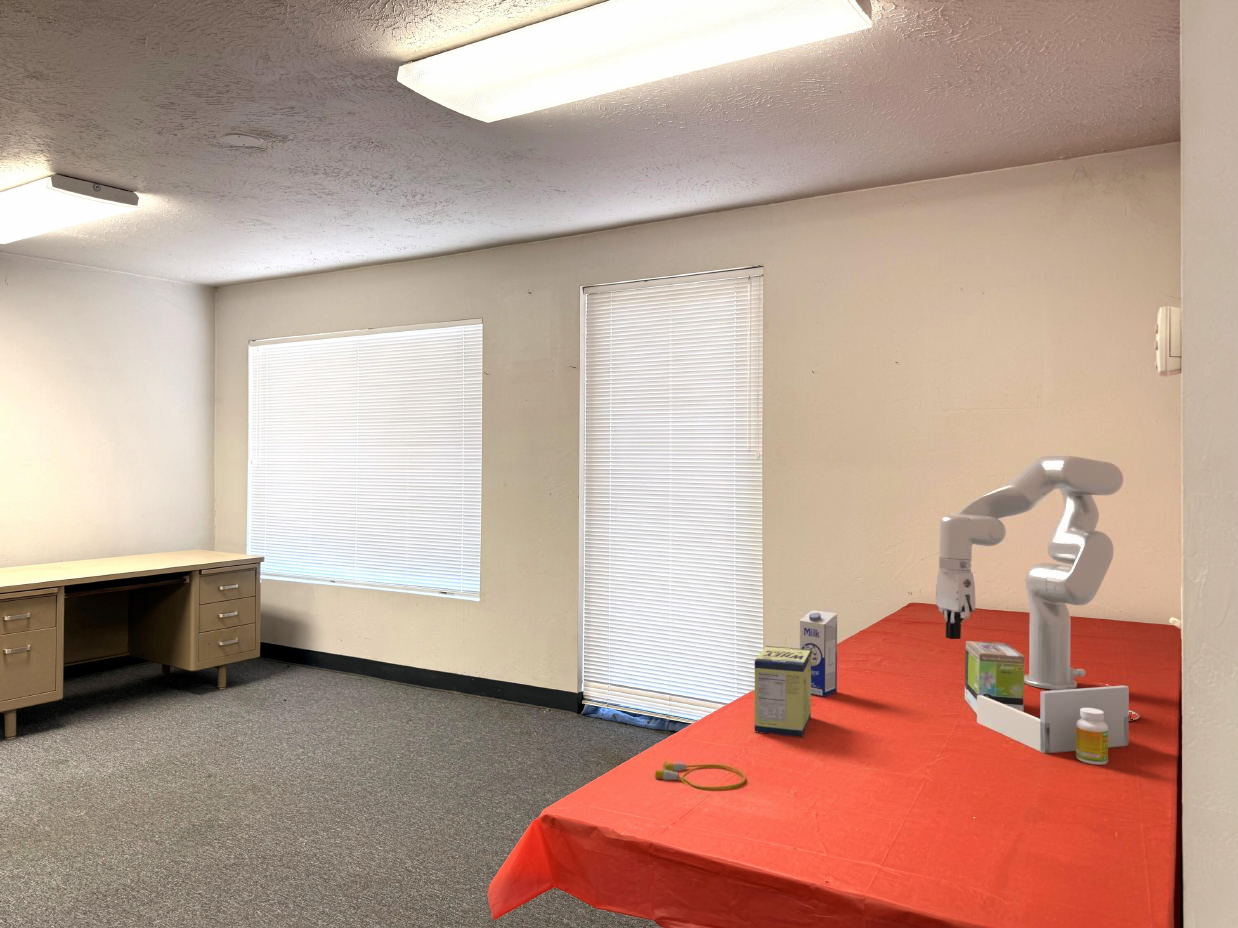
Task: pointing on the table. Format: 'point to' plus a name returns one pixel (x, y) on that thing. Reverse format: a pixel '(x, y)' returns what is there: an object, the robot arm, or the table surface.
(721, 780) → the table surface
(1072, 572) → the robot arm
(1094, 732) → the supplement bottle
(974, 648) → the tea box
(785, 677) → the protein box
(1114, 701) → the display bay
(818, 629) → the milk carton
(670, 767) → the extension cord
